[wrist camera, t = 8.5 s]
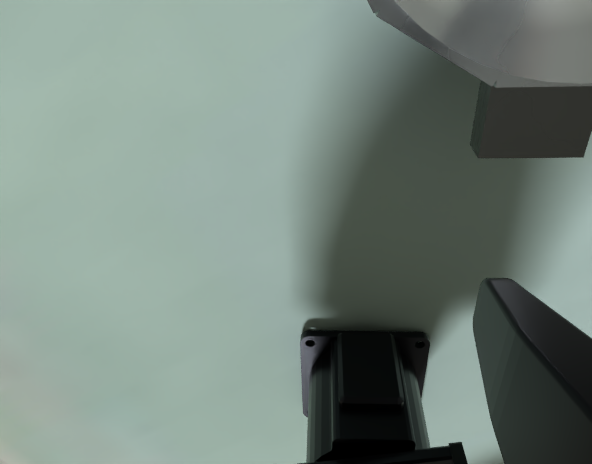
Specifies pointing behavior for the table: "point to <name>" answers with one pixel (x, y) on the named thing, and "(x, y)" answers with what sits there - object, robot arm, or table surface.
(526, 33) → the lid
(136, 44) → the table surface
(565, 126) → the pot
